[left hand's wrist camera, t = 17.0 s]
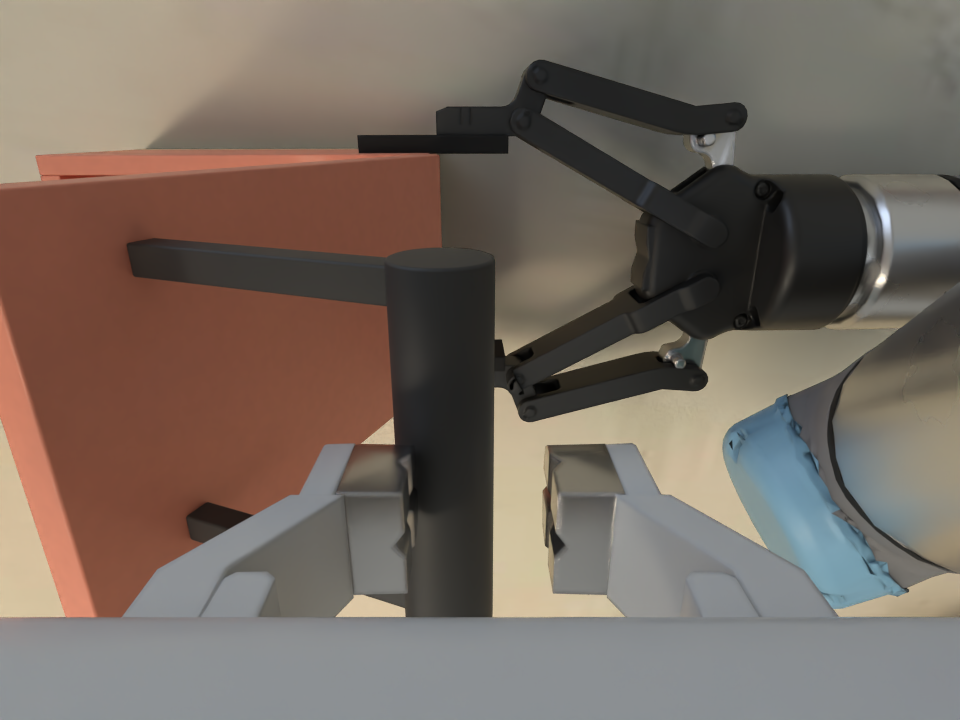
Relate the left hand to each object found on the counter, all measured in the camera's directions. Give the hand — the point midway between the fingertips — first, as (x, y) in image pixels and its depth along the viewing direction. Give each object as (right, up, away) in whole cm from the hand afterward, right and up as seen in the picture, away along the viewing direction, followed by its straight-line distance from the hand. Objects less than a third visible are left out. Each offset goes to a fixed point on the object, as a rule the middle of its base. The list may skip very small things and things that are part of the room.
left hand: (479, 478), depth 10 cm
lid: (-6, +3, +8) cm, 11 cm away
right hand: (-5, +7, +18) cm, 20 cm away
